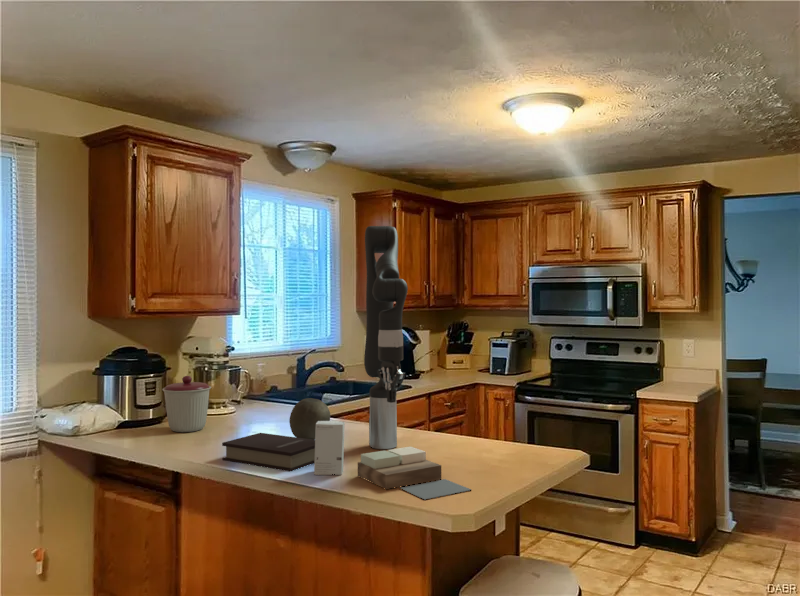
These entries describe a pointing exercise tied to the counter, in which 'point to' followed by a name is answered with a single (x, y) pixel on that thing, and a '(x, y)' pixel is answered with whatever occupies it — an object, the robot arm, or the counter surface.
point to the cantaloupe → (308, 417)
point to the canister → (187, 405)
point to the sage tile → (379, 459)
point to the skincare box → (329, 448)
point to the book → (271, 451)
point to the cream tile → (409, 454)
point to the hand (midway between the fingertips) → (391, 402)
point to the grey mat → (435, 489)
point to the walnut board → (401, 474)
